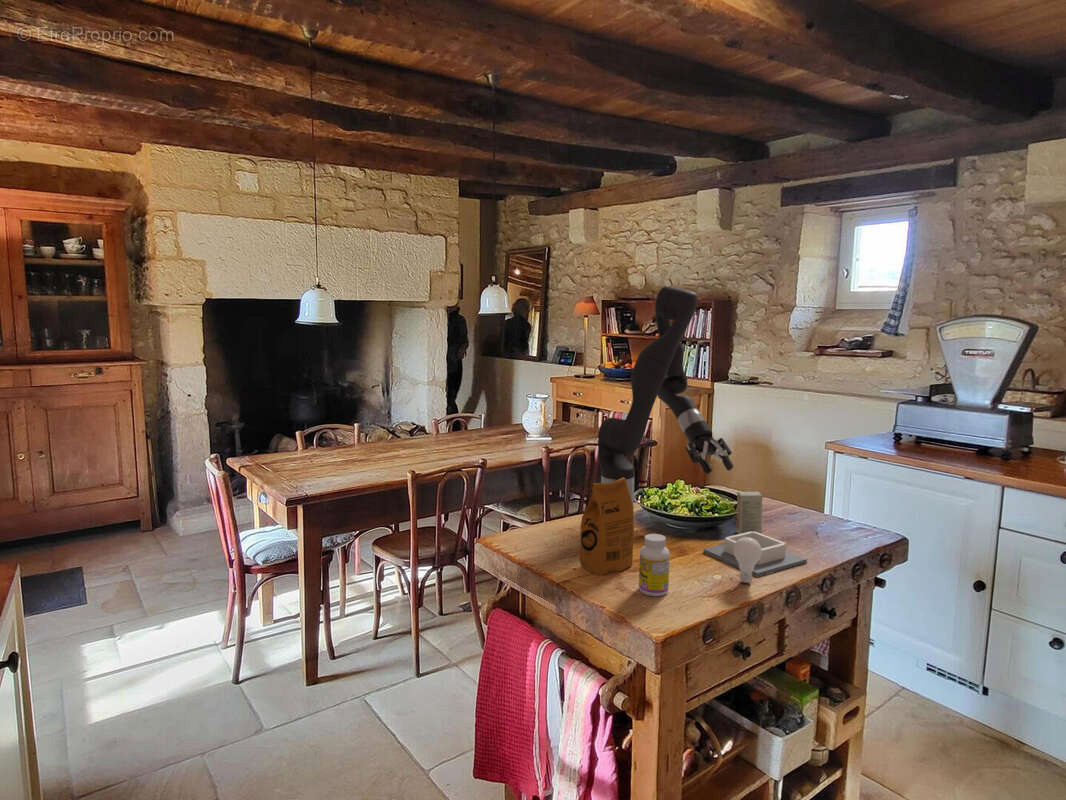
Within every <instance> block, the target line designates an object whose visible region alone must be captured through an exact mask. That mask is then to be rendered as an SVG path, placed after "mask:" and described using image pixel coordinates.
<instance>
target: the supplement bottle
mask: <svg viewBox="0 0 1066 800" xmlns="http://www.w3.org/2000/svg"><path fill="white" fill-rule="evenodd" d="M666 541H667V537H666V536H665V535H663V534H658V533H649V534H646V535H644V543H645V545H643V546H642V547H641V548H640V550H639V573H638V574H639V575H638V589H639V591H640V593H642V594H644V595H645V596H649V597H662V596H665V595H666V594H668V592H669V582H670V581H669V580H670V555H671V553H670V550H669V549H668V547H666V546H665V545H666V543H667V542H666Z"/></svg>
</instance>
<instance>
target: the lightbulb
mask: <svg viewBox="0 0 1066 800" xmlns="http://www.w3.org/2000/svg"><path fill="white" fill-rule="evenodd" d="M733 553H734V556H735V558H736V560H737V561H738V563H739V568H740V569H739V568H738V569H739V571H740V574H739V581H740V582H742V583H743V584H750V583H752V581H753V575H752V571H753V570H754V567H755V564H756V563H757V562H758V561H759V560H760V558H761V555H762V549H761V546H760V544H759V543H758V542H757V541H756V540H755V539H753V538H750V537H743V538H740V539H739V540H737V541H736V543H735V544H734V547H733Z"/></svg>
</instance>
